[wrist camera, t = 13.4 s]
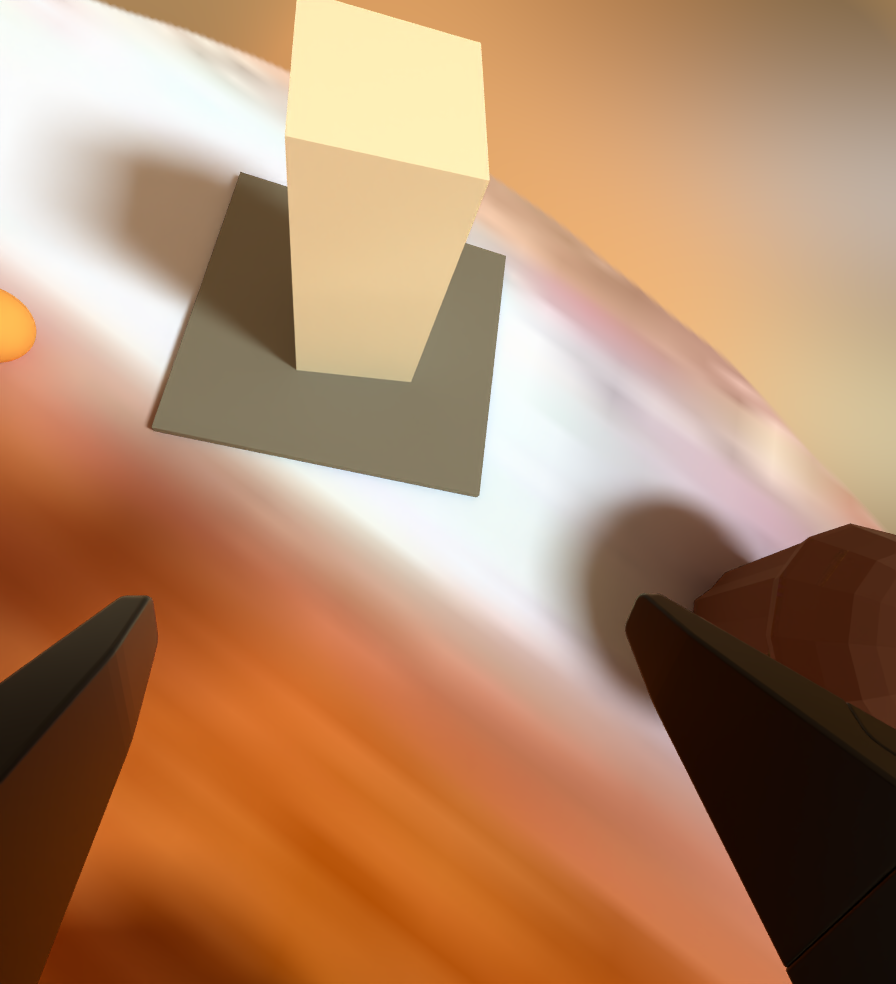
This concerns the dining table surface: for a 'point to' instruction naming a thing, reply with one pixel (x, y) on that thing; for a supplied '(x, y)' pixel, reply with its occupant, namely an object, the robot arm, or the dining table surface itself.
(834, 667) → the muffin
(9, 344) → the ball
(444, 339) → the mat
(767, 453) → the dining table surface
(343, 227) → the tall cream pillar
